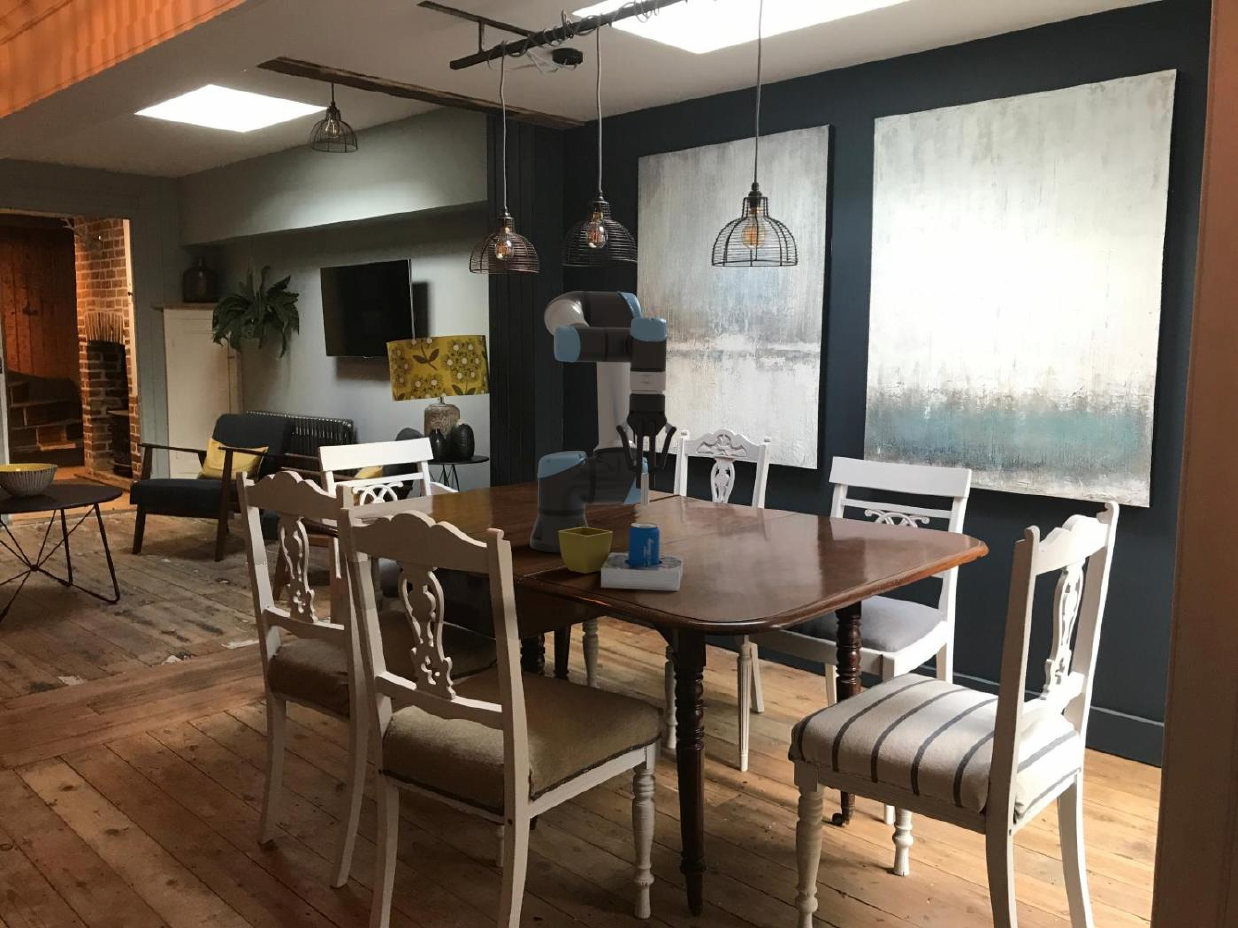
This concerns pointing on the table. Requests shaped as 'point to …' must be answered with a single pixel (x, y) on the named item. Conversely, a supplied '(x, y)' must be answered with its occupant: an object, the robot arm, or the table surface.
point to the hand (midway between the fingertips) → (644, 504)
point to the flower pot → (585, 548)
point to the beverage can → (644, 544)
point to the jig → (642, 573)
